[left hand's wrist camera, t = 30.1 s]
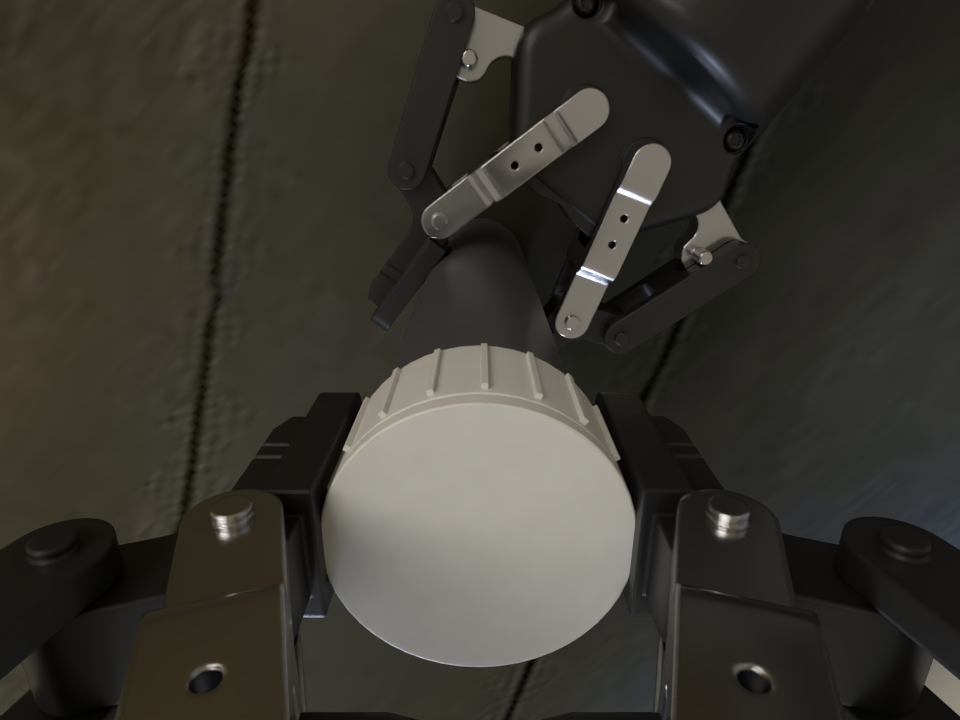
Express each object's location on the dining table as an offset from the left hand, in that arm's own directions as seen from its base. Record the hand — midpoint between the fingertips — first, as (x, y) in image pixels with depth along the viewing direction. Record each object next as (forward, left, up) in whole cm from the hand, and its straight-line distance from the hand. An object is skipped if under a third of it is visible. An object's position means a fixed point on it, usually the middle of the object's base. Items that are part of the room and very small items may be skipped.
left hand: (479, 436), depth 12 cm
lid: (0, 0, +3) cm, 3 cm away
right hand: (-2, -2, -11) cm, 11 cm away
